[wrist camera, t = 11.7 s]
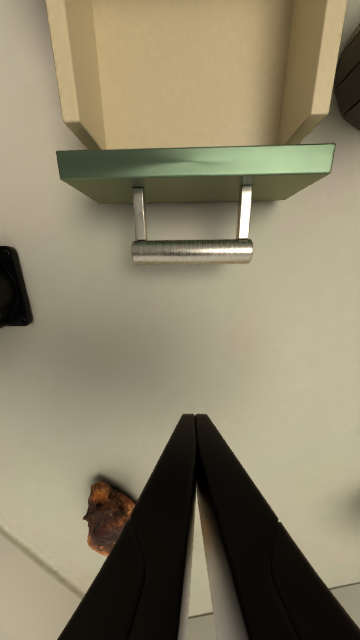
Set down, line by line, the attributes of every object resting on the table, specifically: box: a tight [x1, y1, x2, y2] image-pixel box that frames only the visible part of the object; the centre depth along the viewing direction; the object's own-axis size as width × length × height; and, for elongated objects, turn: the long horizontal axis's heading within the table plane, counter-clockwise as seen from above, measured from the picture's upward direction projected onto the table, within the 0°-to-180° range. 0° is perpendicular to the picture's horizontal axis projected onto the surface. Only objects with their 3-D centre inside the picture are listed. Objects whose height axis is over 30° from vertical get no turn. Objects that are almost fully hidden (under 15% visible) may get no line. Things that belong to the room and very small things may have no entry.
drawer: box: [45, 0, 347, 265], centre depth 11 cm, size 17×13×5 cm
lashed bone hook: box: [83, 482, 135, 556], centre depth 23 cm, size 9×5×18 cm
